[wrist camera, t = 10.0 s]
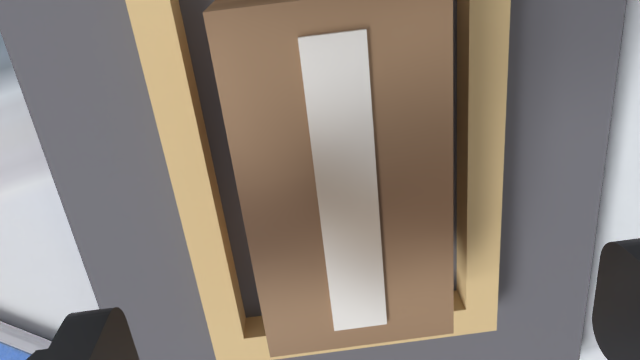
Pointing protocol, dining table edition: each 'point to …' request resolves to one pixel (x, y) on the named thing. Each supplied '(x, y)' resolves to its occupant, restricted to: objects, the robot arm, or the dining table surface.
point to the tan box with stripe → (342, 164)
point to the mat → (222, 195)
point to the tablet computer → (19, 343)
